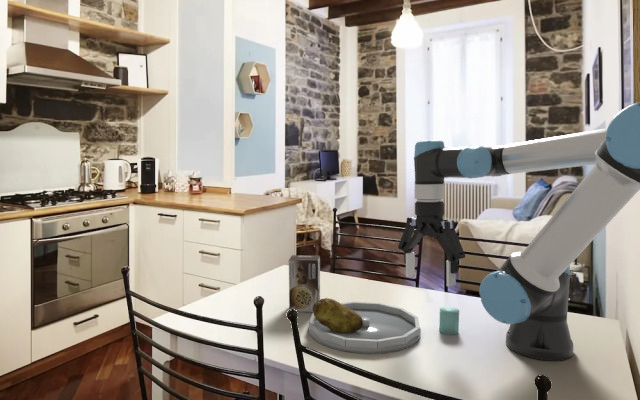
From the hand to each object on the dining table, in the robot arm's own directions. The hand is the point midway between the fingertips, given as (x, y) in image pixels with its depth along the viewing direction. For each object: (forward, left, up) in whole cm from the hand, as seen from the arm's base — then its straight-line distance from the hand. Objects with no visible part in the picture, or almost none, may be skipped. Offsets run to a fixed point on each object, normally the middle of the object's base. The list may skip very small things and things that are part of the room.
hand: (429, 280), depth 124 cm
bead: (-1, -6, -14) cm, 16 cm away
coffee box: (+30, +24, -15) cm, 41 cm away
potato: (+8, +23, -13) cm, 28 cm away
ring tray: (+8, +15, -14) cm, 22 cm away
